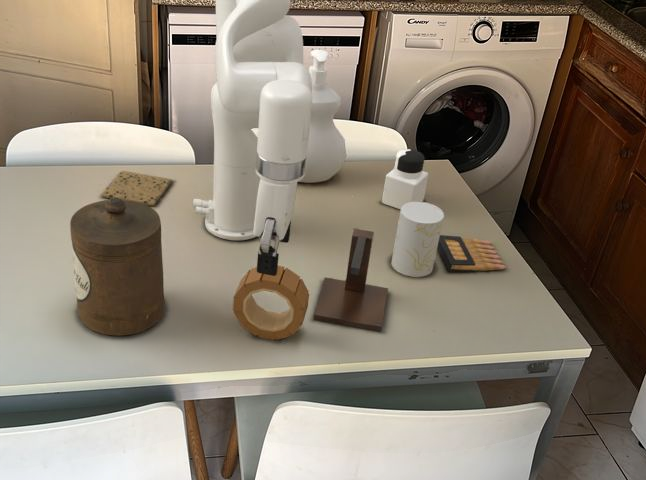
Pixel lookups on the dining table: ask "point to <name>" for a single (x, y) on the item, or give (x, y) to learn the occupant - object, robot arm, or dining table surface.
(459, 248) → the ammunition clip
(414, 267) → the cup
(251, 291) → the segmented brown cylinder
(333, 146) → the soap bottle
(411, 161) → the medicine bottle
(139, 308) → the wooden container
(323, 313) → the hook stand
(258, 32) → the robot arm
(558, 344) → the dining table surface
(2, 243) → the dining table surface
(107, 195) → the tan flat square slab
